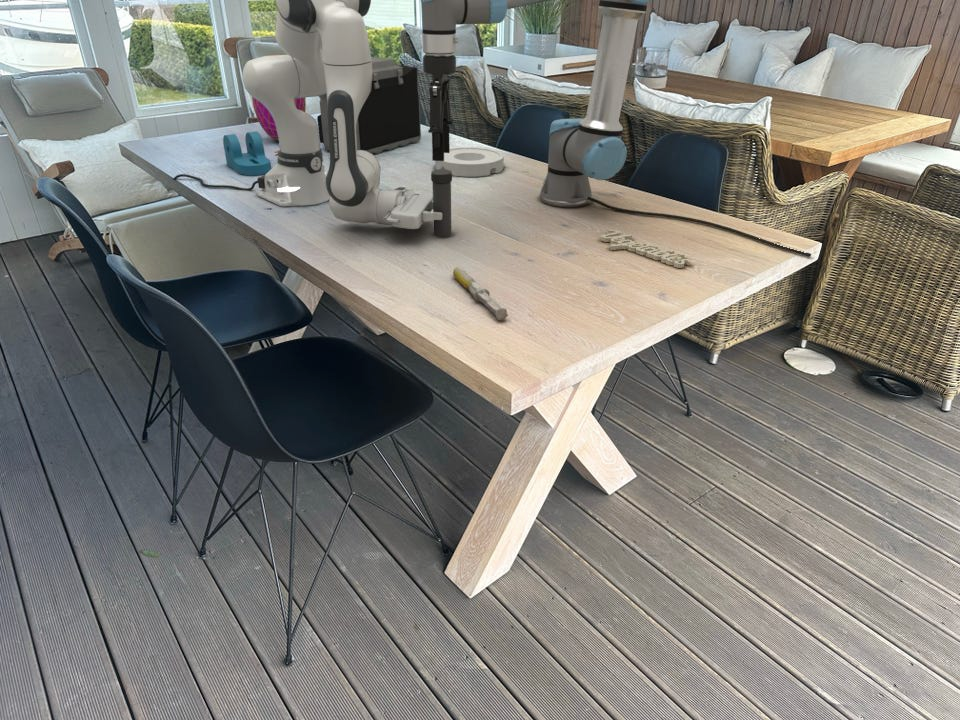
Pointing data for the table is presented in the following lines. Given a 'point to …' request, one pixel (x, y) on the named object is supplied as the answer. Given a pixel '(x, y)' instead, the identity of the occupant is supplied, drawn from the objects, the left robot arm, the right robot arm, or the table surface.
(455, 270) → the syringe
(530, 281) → the table surface
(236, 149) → the camera mount
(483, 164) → the ashtray
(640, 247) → the decorative sign
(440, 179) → the lid
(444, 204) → the dark grey cylinder
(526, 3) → the right robot arm
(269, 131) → the decorative egg
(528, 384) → the table surface
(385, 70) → the cooler box
